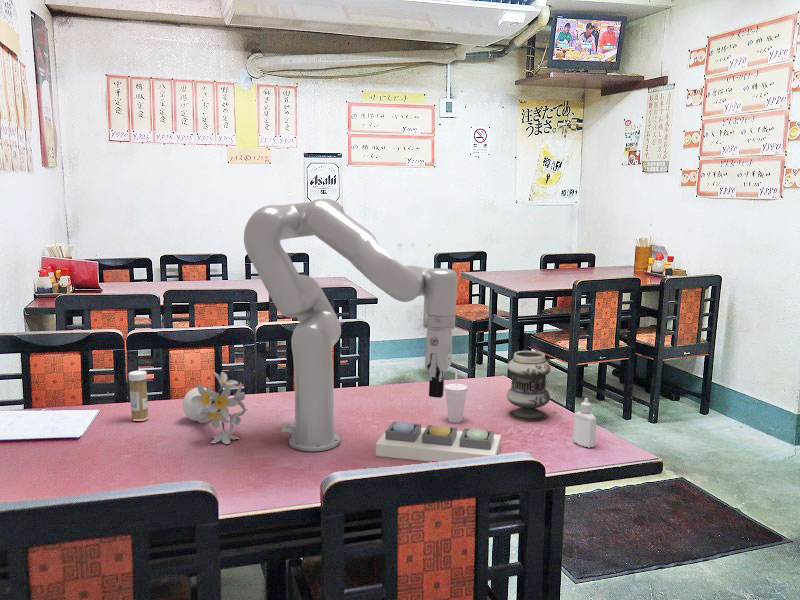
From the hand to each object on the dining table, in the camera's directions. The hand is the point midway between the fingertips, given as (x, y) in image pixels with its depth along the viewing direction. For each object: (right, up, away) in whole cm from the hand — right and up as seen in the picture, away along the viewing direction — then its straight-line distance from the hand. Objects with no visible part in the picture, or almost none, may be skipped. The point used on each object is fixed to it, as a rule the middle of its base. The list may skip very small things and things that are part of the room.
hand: (436, 396), depth 159 cm
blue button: (-8, -10, +3) cm, 13 cm away
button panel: (+1, -14, +2) cm, 14 cm away
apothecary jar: (+27, -10, +29) cm, 41 cm away
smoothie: (+7, -10, +24) cm, 27 cm away
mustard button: (+1, -10, +1) cm, 10 cm away
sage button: (+10, -11, -1) cm, 15 cm away
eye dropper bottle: (+37, -13, +7) cm, 40 cm away
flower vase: (-58, -11, +14) cm, 60 cm away
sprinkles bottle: (-80, -10, +22) cm, 83 cm away
